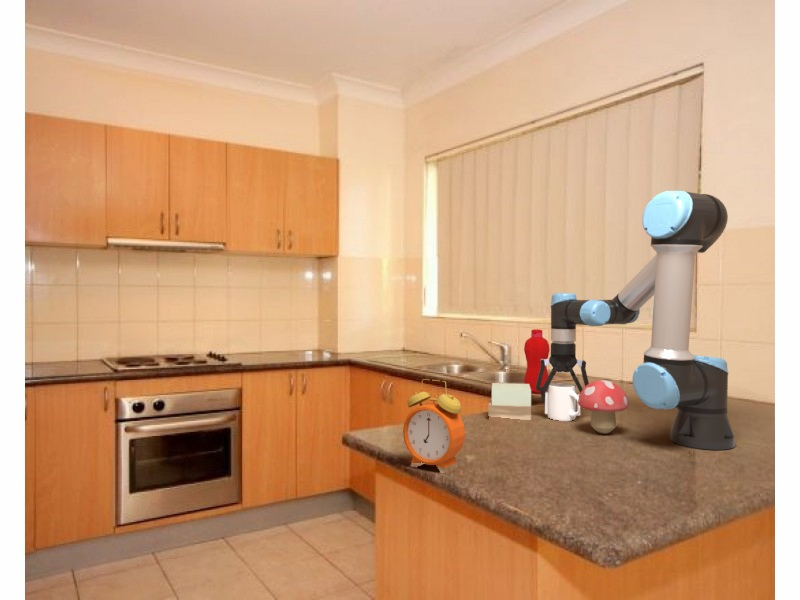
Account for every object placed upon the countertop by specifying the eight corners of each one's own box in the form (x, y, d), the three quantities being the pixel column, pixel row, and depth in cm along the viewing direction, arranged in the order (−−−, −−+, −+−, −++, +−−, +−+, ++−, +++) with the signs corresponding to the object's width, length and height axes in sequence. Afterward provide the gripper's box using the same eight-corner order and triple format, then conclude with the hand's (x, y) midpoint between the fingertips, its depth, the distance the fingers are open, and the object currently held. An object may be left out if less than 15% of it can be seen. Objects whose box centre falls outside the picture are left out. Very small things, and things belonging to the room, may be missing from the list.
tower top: (531, 406, 174) (531, 390, 174) (491, 405, 176) (491, 389, 176) (529, 398, 185) (529, 383, 185) (492, 398, 188) (492, 383, 188)
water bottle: (553, 390, 227) (553, 328, 227) (544, 394, 218) (544, 330, 217) (530, 388, 232) (530, 328, 232) (521, 392, 223) (521, 329, 222)
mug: (569, 425, 168) (569, 389, 168) (541, 417, 179) (541, 383, 178) (590, 422, 172) (590, 387, 172) (561, 414, 183) (561, 381, 183)
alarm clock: (401, 466, 129) (401, 379, 129) (416, 459, 134) (415, 376, 134) (452, 476, 122) (452, 384, 121) (465, 469, 127) (465, 380, 127)
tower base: (531, 423, 173) (531, 407, 173) (488, 421, 175) (488, 405, 175) (530, 414, 185) (530, 399, 185) (490, 412, 188) (490, 397, 188)
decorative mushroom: (637, 438, 151) (636, 383, 151) (588, 440, 151) (587, 384, 151) (617, 427, 165) (616, 376, 165) (572, 428, 165) (571, 377, 165)
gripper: (598, 342, 177) (597, 413, 177) (527, 340, 181) (526, 409, 182) (601, 344, 169) (600, 418, 170) (527, 342, 174) (526, 414, 175)
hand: (562, 413), depth 176 cm, fingers closed on mug, 9 cm apart
